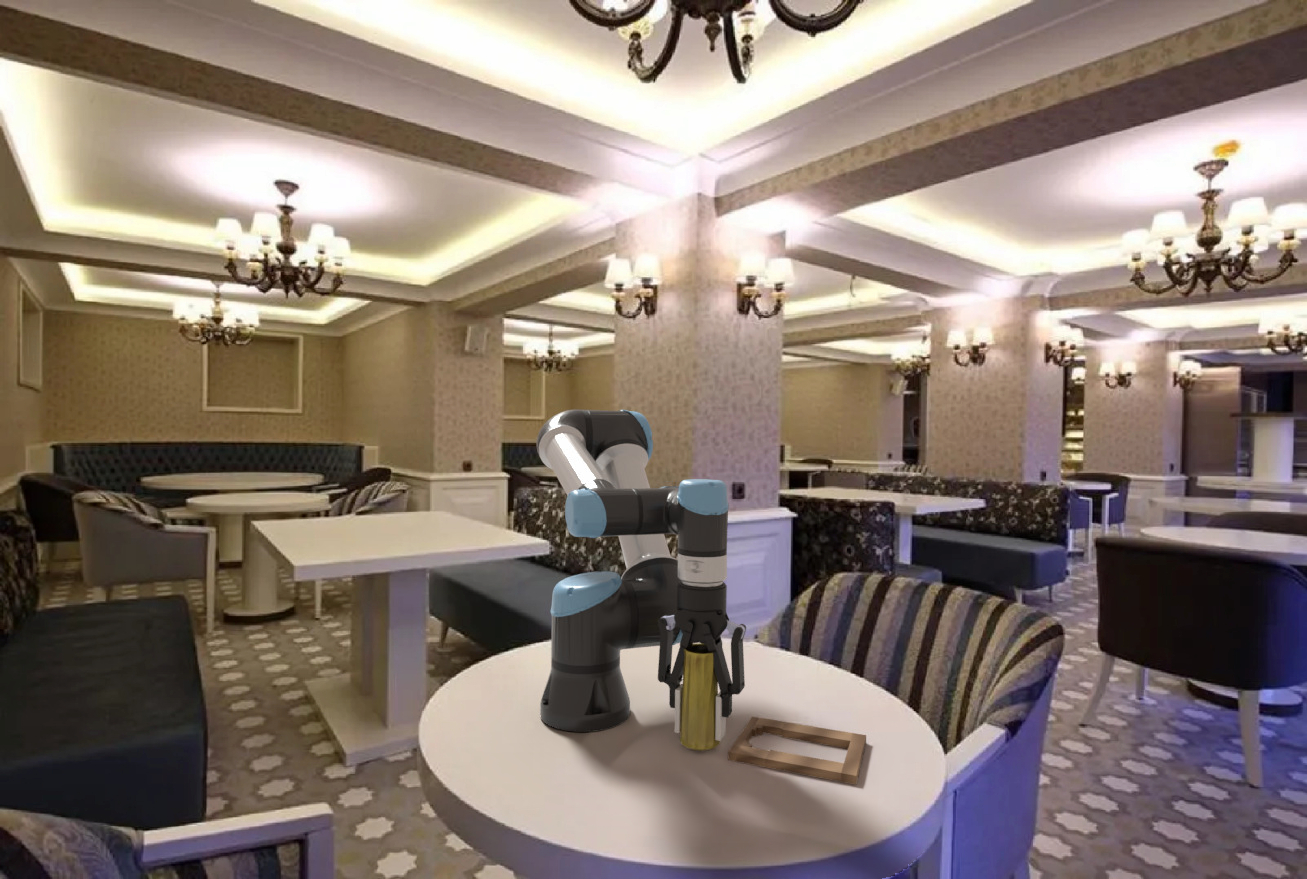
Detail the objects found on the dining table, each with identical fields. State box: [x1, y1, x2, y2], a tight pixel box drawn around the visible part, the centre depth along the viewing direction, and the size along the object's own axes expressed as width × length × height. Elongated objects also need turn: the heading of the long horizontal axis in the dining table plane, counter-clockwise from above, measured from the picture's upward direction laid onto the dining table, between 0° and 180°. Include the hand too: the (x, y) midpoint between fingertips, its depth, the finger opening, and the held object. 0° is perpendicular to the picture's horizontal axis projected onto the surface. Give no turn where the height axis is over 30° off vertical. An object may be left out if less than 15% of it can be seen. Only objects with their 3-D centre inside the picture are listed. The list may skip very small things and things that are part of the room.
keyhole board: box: [727, 716, 867, 786], centre depth 102 cm, size 18×14×1 cm
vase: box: [679, 643, 721, 751], centre depth 104 cm, size 6×6×14 cm
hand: (699, 732), depth 104 cm, fingers closed on vase, 6 cm apart
